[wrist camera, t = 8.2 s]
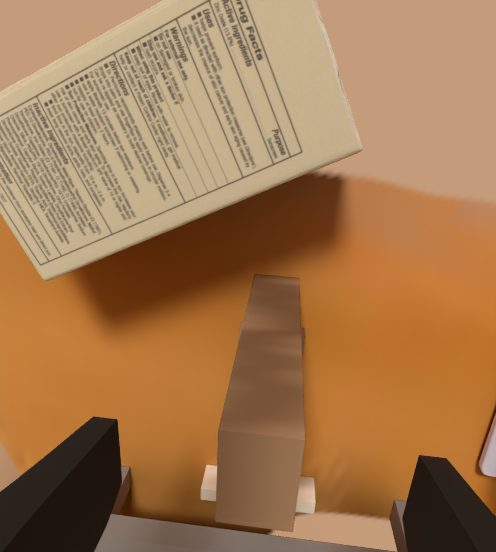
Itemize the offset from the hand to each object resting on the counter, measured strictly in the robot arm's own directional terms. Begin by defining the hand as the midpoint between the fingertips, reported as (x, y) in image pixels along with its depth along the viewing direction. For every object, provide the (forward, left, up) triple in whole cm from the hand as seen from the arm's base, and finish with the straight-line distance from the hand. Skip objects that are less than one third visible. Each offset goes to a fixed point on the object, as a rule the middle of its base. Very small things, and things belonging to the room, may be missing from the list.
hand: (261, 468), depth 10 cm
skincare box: (+10, -4, -8) cm, 14 cm away
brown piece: (0, +5, -10) cm, 11 cm away
